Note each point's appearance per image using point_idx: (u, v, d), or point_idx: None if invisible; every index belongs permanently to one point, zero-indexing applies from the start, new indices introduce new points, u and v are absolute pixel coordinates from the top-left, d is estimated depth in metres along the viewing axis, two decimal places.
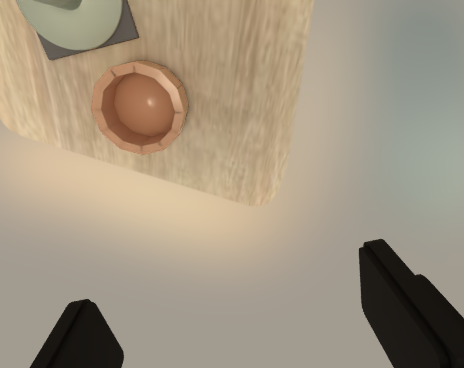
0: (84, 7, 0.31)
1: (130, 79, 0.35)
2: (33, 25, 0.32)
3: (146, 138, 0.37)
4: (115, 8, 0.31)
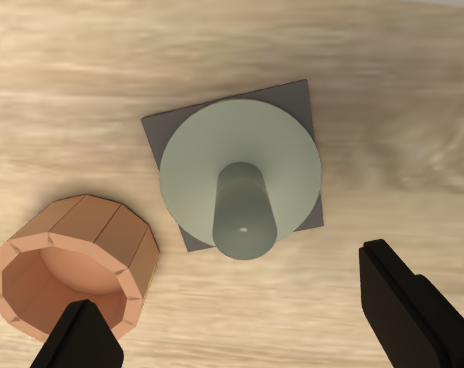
0: None
1: None
2: (192, 120, 0.18)
3: (33, 261, 0.22)
4: None
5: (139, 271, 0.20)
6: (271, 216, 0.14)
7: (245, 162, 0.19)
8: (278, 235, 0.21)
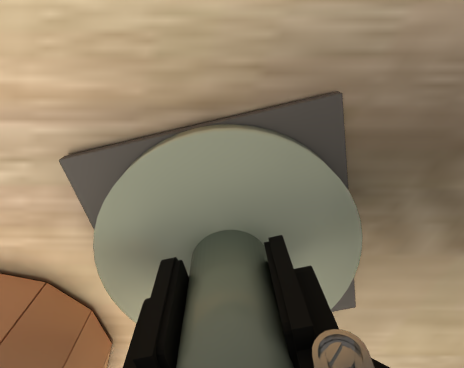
0: None
1: None
2: (142, 166, 0.10)
3: None
4: None
5: None
6: None
7: (237, 231, 0.11)
8: None
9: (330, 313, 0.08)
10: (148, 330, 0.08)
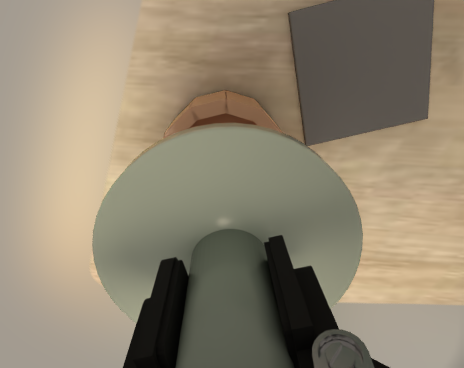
0: None
1: None
2: (142, 165, 0.10)
3: None
4: None
5: None
6: None
7: (237, 230, 0.11)
8: None
9: (330, 313, 0.08)
10: (148, 330, 0.08)
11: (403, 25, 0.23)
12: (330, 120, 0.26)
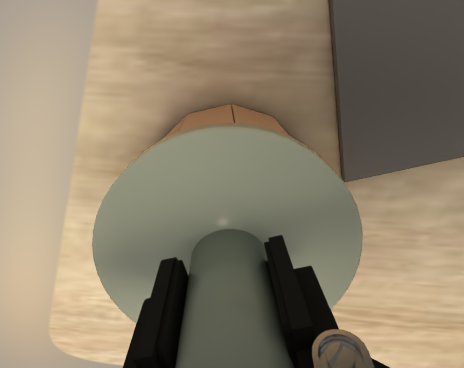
0: None
1: None
2: (141, 165, 0.10)
3: None
4: None
5: None
6: None
7: (237, 230, 0.11)
8: None
9: (330, 313, 0.08)
10: (148, 330, 0.08)
11: None
12: (381, 147, 0.18)
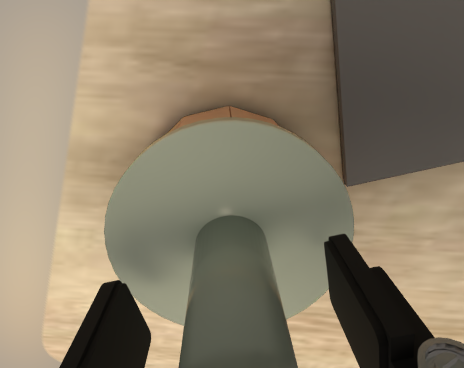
0: None
1: None
2: (151, 155, 0.11)
3: None
4: None
5: None
6: (290, 359, 0.07)
7: (238, 216, 0.12)
8: (287, 312, 0.15)
9: (418, 319, 0.07)
10: (67, 367, 0.07)
11: None
12: (384, 150, 0.17)
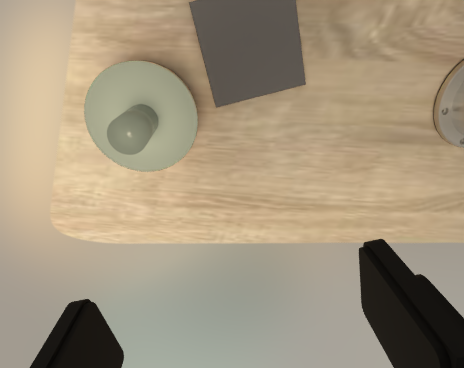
0: None
1: None
2: (102, 75, 0.27)
3: None
4: (135, 166, 0.31)
5: None
6: (141, 123, 0.23)
7: (142, 104, 0.28)
8: (175, 159, 0.31)
9: None
10: None
11: (275, 12, 0.31)
12: (231, 86, 0.34)
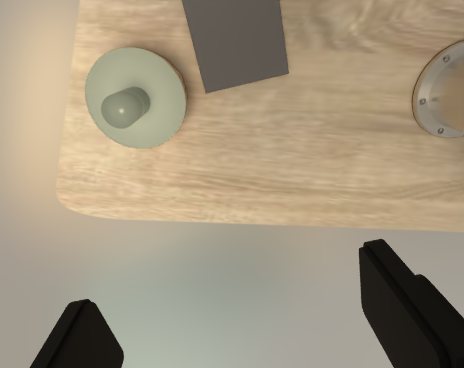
0: None
1: None
2: (101, 59, 0.30)
3: None
4: (129, 143, 0.34)
5: None
6: (131, 101, 0.27)
7: (136, 87, 0.32)
8: (165, 138, 0.34)
9: None
10: None
11: (259, 6, 0.34)
12: (220, 74, 0.37)
